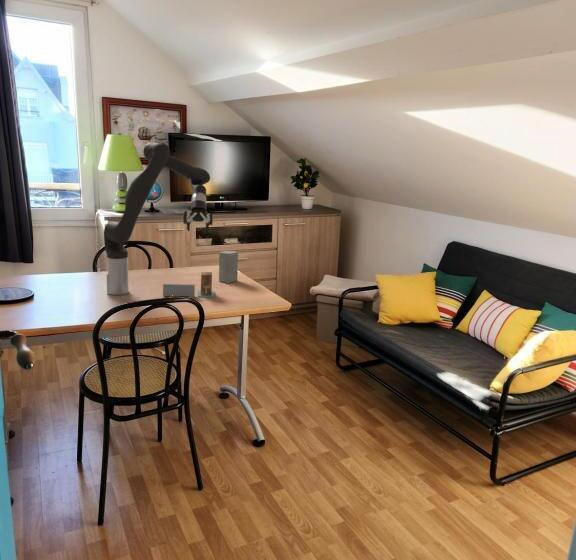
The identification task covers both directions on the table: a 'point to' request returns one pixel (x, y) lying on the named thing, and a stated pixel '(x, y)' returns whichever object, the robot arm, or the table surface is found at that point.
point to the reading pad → (206, 295)
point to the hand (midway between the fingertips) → (197, 230)
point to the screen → (179, 290)
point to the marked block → (206, 283)
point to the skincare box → (228, 266)
